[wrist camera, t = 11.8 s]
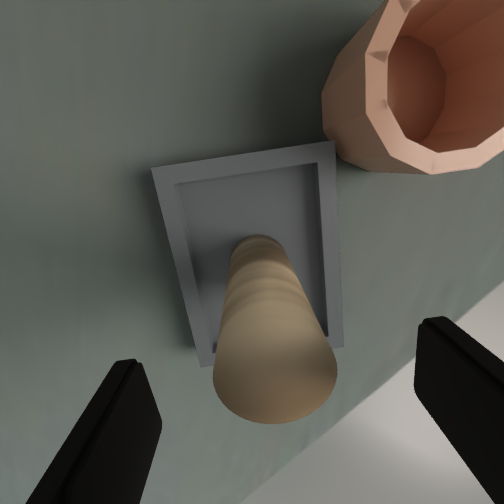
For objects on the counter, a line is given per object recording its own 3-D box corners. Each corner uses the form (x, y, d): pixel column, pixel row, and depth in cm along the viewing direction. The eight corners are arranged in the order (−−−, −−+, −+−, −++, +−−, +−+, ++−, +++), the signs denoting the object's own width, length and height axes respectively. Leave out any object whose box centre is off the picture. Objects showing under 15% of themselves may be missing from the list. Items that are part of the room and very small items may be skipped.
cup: (317, 36, 17) (364, -42, 11) (455, 15, 17) (587, -78, 11) (325, 178, 20) (366, 184, 14) (444, 160, 20) (543, 157, 13)
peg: (225, 239, 20) (201, 332, 9) (283, 230, 20) (333, 314, 9) (235, 291, 22) (224, 431, 10) (289, 283, 21) (340, 415, 10)
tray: (161, 167, 20) (150, 167, 17) (323, 142, 19) (334, 139, 17) (204, 347, 25) (200, 367, 22) (333, 329, 24) (343, 346, 22)
